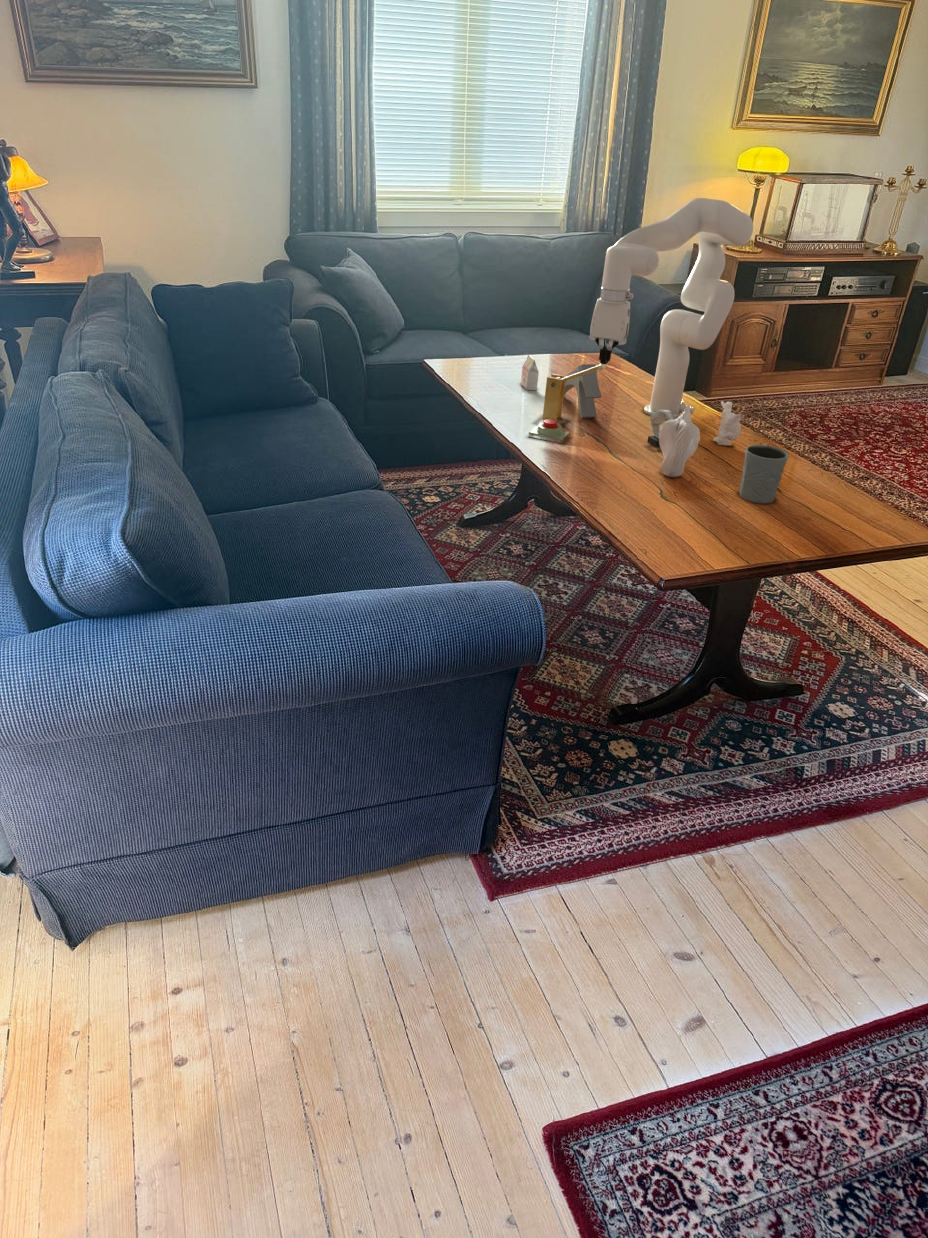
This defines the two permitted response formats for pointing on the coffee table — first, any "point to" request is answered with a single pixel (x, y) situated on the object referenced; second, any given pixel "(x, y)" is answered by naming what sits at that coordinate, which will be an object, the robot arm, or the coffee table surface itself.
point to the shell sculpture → (678, 443)
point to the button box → (549, 433)
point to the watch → (656, 421)
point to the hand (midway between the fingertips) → (604, 362)
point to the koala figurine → (728, 426)
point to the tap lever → (584, 372)
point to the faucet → (585, 390)
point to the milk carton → (529, 374)
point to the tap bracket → (554, 397)
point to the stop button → (550, 424)
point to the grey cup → (762, 473)
